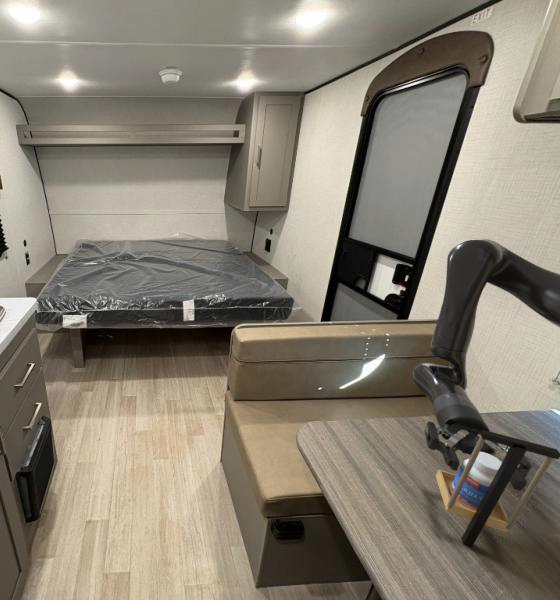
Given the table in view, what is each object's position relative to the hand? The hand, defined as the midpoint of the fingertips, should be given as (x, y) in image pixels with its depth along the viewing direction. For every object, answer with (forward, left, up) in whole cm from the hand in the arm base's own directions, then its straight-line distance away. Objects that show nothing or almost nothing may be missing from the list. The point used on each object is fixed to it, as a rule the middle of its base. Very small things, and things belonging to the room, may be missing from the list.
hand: (486, 476), depth 56 cm
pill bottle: (0, -1, -7) cm, 7 cm away
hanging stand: (0, -1, -14) cm, 14 cm away
